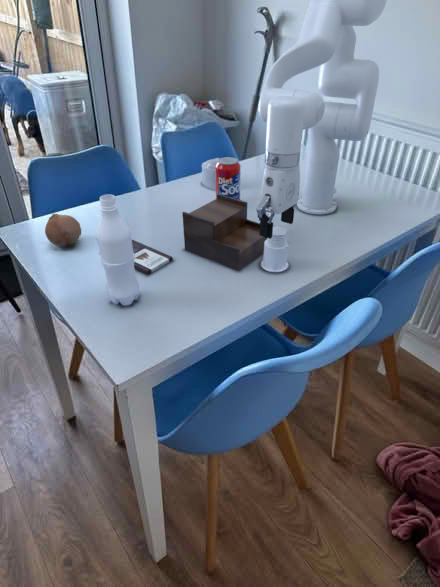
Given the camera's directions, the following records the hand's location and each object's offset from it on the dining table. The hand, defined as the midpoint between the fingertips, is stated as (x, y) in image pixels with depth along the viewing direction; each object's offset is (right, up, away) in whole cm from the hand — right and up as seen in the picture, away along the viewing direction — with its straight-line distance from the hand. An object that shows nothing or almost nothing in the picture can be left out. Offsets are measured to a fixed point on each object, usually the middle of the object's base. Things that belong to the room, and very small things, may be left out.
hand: (276, 229), depth 103 cm
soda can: (-11, +13, +37) cm, 41 cm away
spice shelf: (-12, -3, +14) cm, 18 cm away
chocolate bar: (-36, -6, +11) cm, 38 cm away
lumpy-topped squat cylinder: (-13, +24, +52) cm, 59 cm away
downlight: (0, -9, +7) cm, 11 cm away
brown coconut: (-57, -2, +17) cm, 59 cm away
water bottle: (-36, -17, -4) cm, 40 cm away
